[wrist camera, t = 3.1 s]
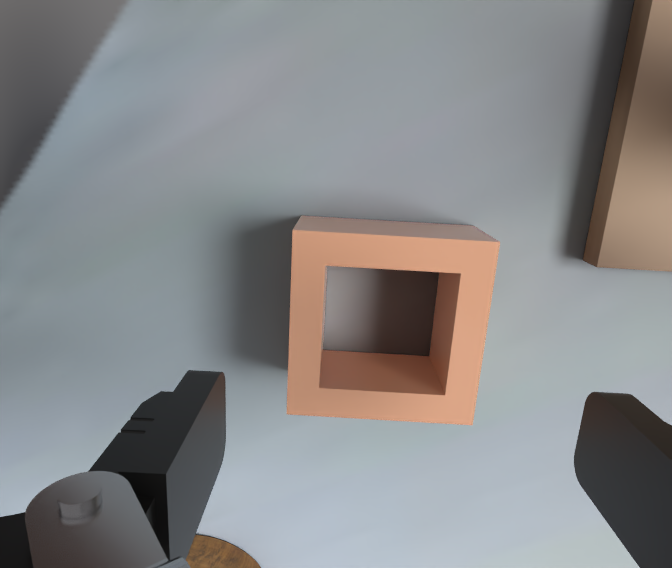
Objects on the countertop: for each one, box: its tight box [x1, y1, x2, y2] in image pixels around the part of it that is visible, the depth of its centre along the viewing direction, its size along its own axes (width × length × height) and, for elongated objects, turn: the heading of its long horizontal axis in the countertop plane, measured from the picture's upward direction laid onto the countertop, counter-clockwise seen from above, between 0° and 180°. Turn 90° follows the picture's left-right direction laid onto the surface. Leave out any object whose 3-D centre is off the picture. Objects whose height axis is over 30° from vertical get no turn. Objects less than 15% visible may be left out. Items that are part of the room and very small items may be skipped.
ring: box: [287, 216, 500, 425], centre depth 16 cm, size 6×6×3 cm
